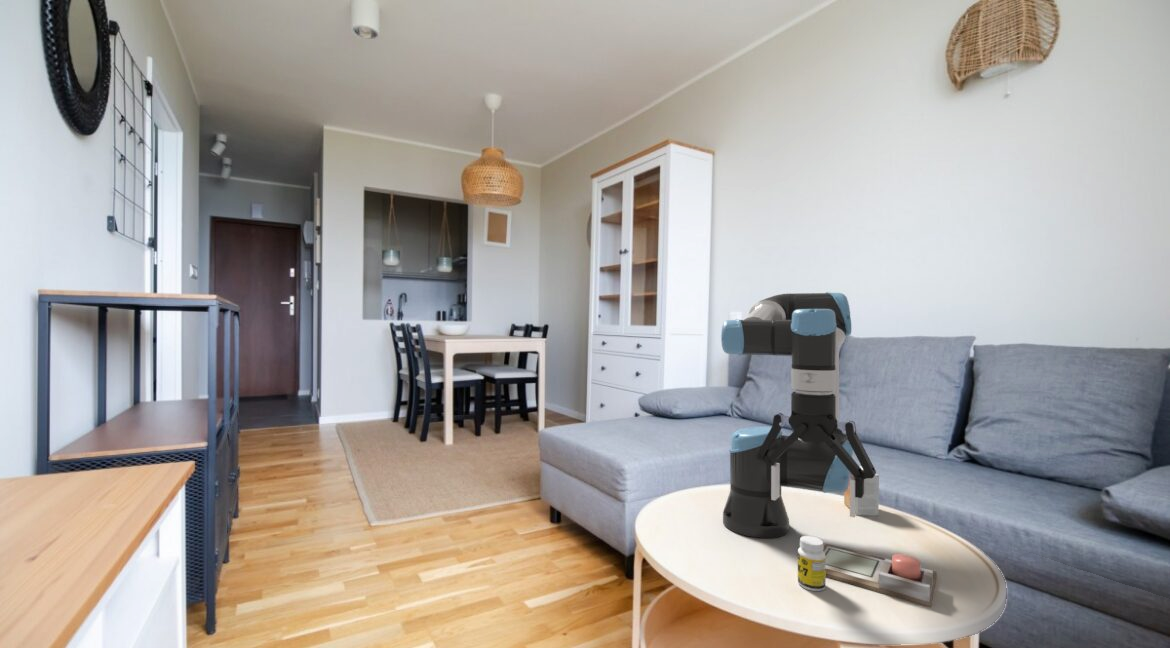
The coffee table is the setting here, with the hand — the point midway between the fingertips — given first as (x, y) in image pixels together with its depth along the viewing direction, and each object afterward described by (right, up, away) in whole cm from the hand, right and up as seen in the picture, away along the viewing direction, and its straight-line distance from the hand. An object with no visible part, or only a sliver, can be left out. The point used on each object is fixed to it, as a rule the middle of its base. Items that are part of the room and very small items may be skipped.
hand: (812, 506), depth 94 cm
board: (+14, -15, +4) cm, 20 cm away
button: (+16, -12, -2) cm, 20 cm away
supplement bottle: (0, -15, 0) cm, 15 cm away
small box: (+30, -15, +38) cm, 50 cm away
